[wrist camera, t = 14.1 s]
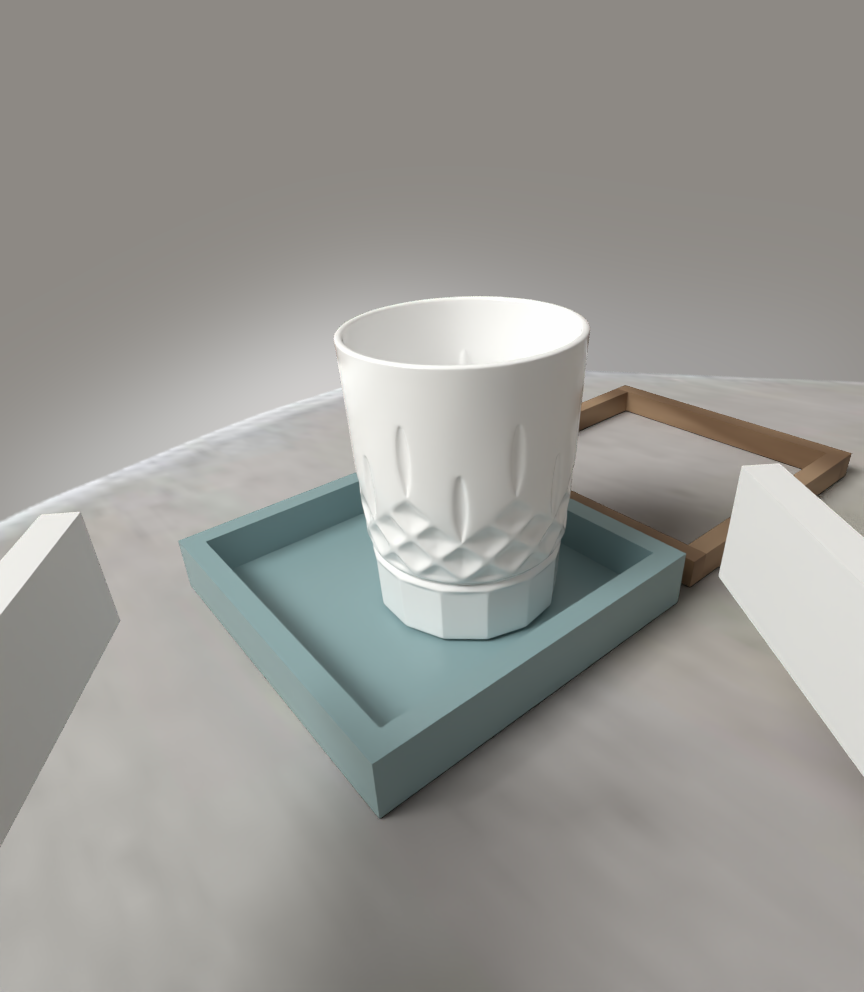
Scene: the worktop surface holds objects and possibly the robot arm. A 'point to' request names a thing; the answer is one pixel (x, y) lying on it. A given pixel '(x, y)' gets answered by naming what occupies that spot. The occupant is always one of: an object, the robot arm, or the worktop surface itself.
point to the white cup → (465, 453)
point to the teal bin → (410, 633)
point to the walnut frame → (811, 457)
